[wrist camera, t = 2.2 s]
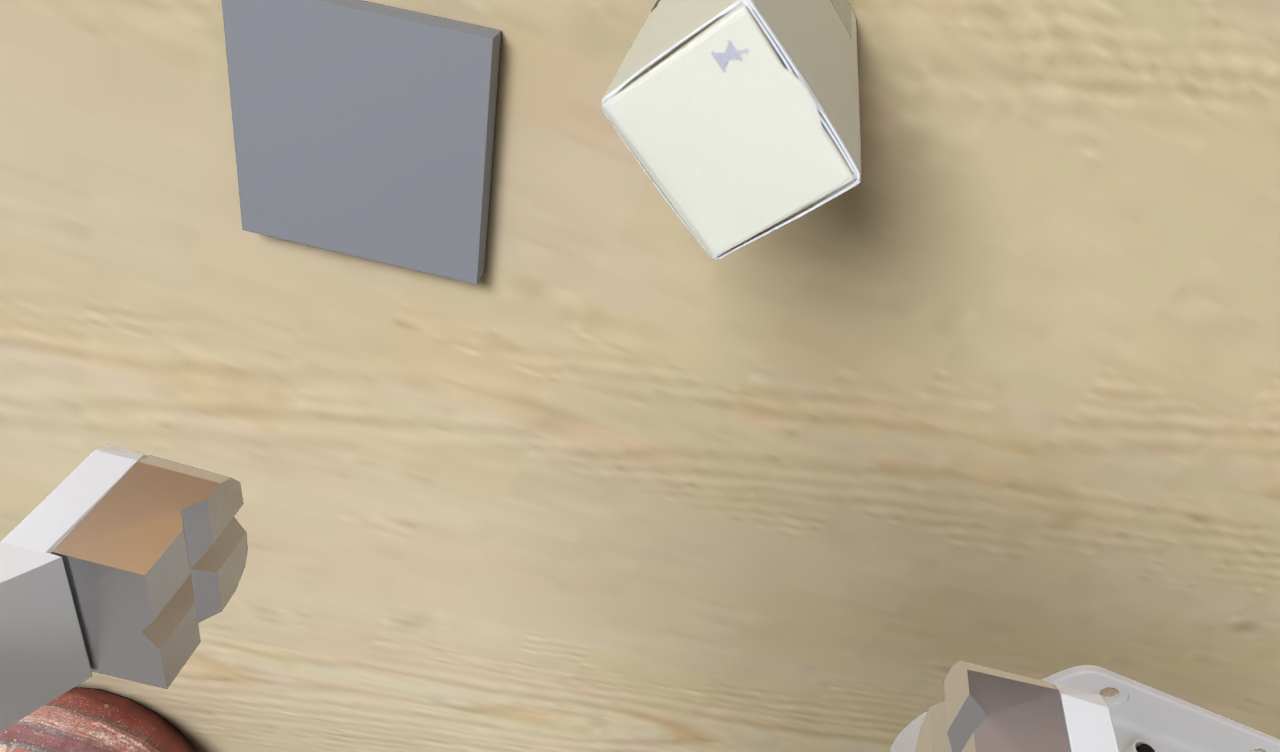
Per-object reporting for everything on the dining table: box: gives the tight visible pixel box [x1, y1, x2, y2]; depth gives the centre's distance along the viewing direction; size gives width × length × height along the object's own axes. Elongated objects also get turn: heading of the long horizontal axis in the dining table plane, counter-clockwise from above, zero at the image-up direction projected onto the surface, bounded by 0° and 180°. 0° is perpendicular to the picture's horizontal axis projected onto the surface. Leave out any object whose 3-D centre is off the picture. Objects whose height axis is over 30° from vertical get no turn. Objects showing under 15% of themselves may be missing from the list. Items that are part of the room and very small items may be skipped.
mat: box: [222, 0, 501, 285], centre depth 38 cm, size 10×10×1 cm
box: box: [601, 0, 862, 260], centre depth 28 cm, size 5×4×13 cm
